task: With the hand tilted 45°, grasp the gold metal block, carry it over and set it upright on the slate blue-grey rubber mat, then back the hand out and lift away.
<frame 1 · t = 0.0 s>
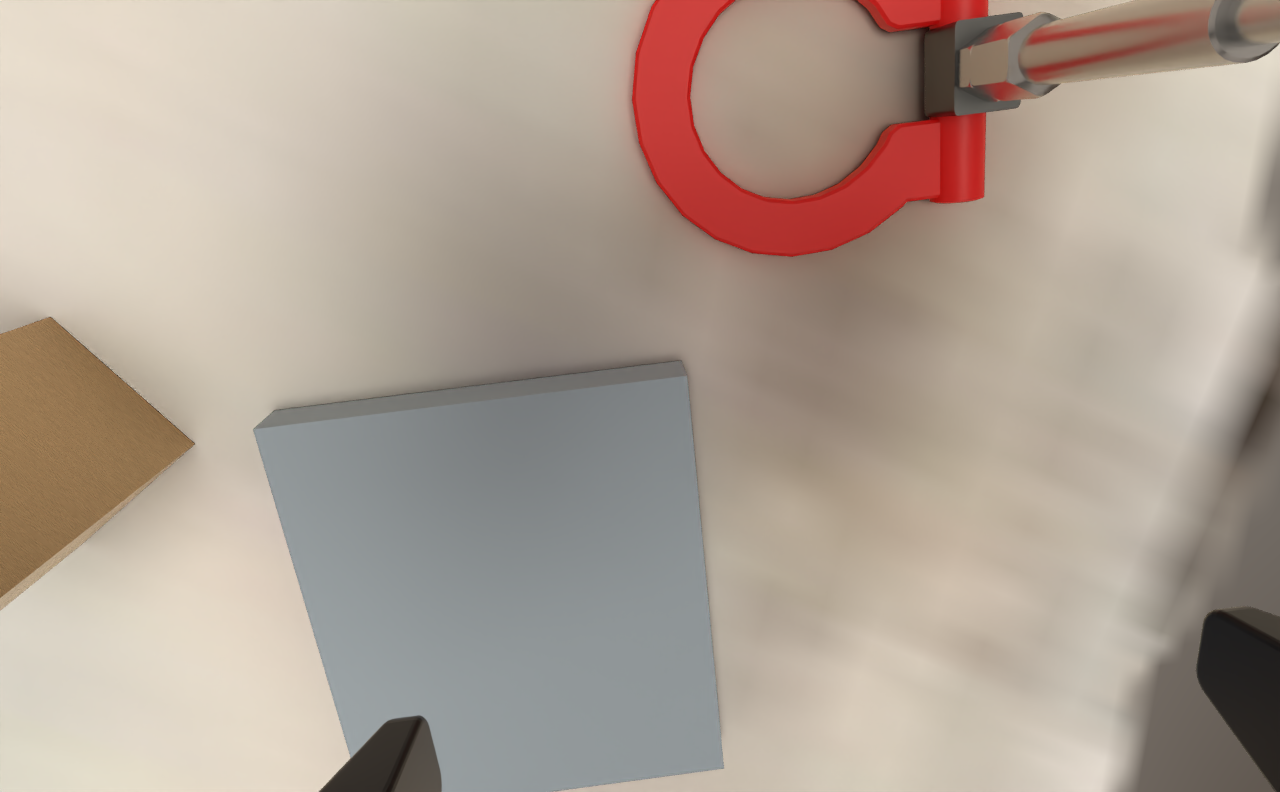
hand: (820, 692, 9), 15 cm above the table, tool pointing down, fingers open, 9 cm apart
gold metal block: (67, 435, 22), on the table
mat: (517, 588, 25), on the table
tow hook: (802, 92, 21), on the table
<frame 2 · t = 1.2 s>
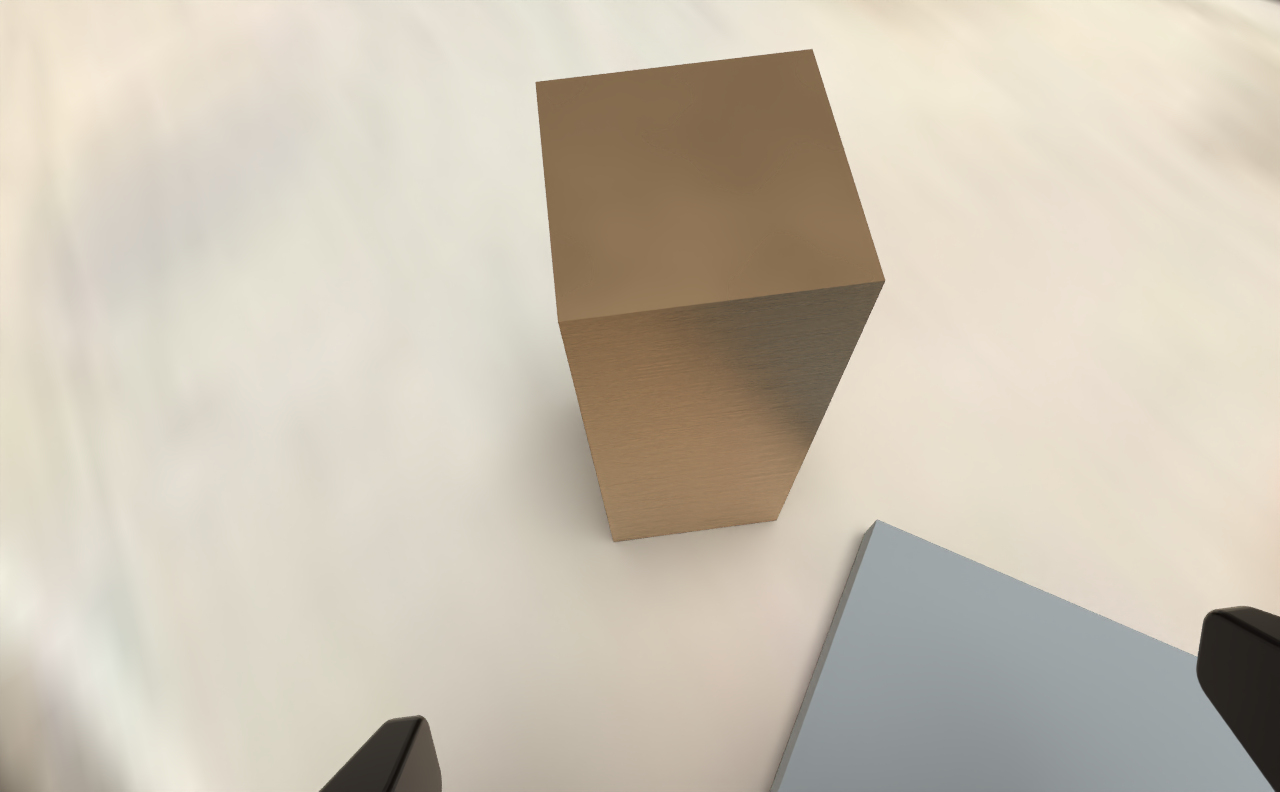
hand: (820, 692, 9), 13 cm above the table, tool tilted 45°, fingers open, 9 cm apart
gold metal block: (682, 454, 24), on the table
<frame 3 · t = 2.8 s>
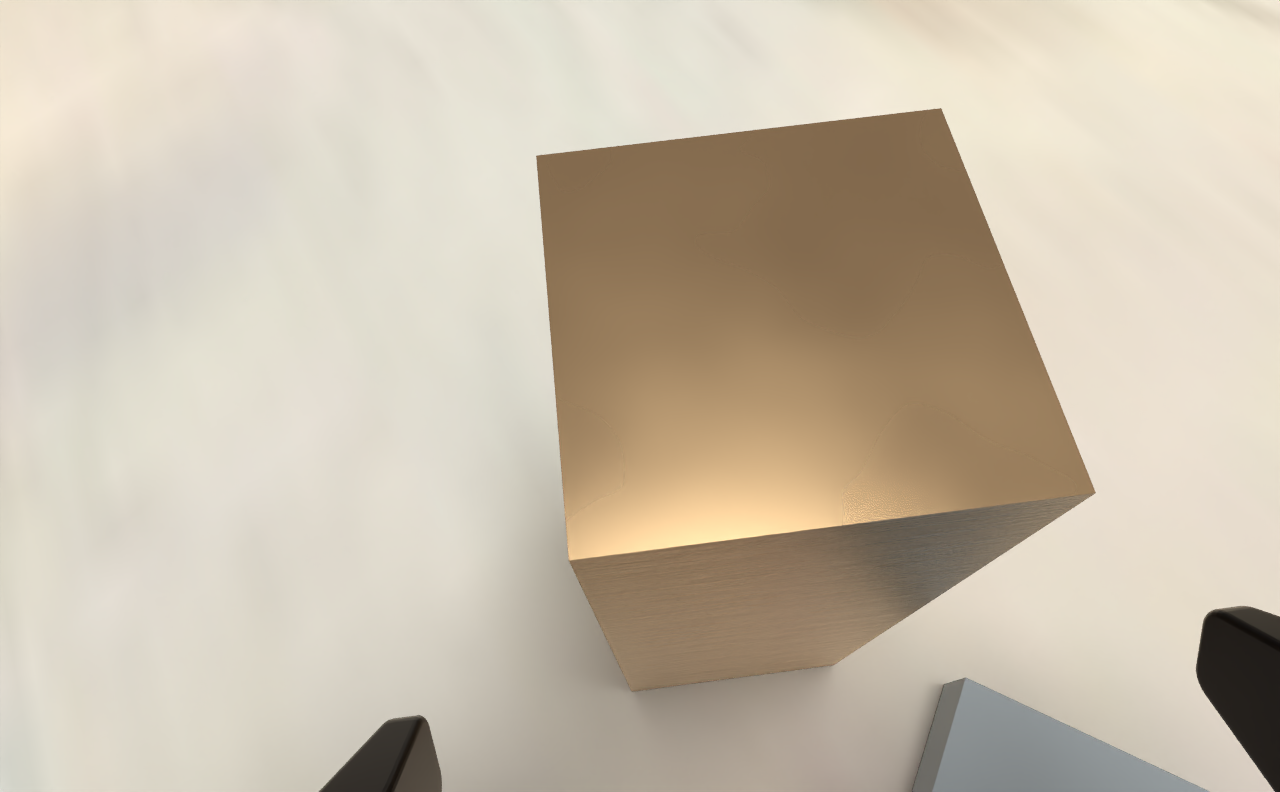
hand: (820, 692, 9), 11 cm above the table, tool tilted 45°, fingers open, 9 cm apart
gold metal block: (716, 577, 20), on the table
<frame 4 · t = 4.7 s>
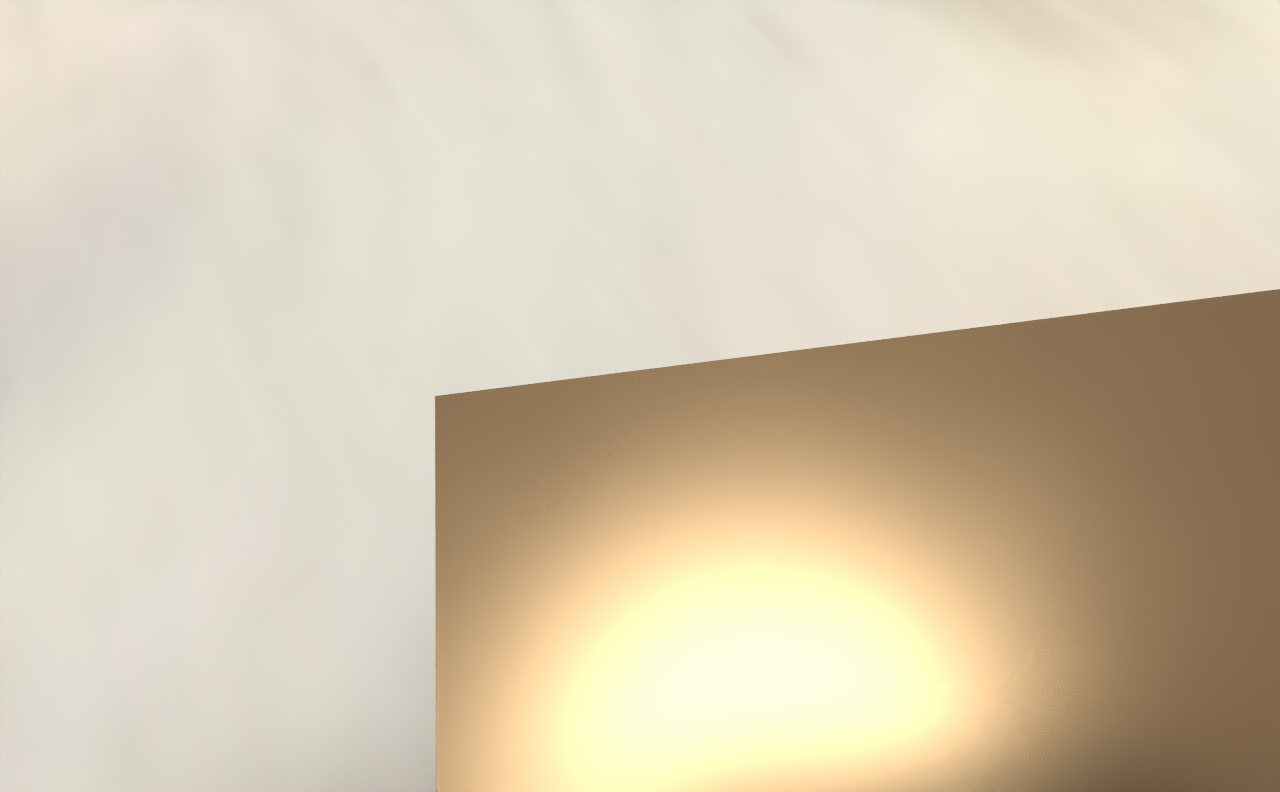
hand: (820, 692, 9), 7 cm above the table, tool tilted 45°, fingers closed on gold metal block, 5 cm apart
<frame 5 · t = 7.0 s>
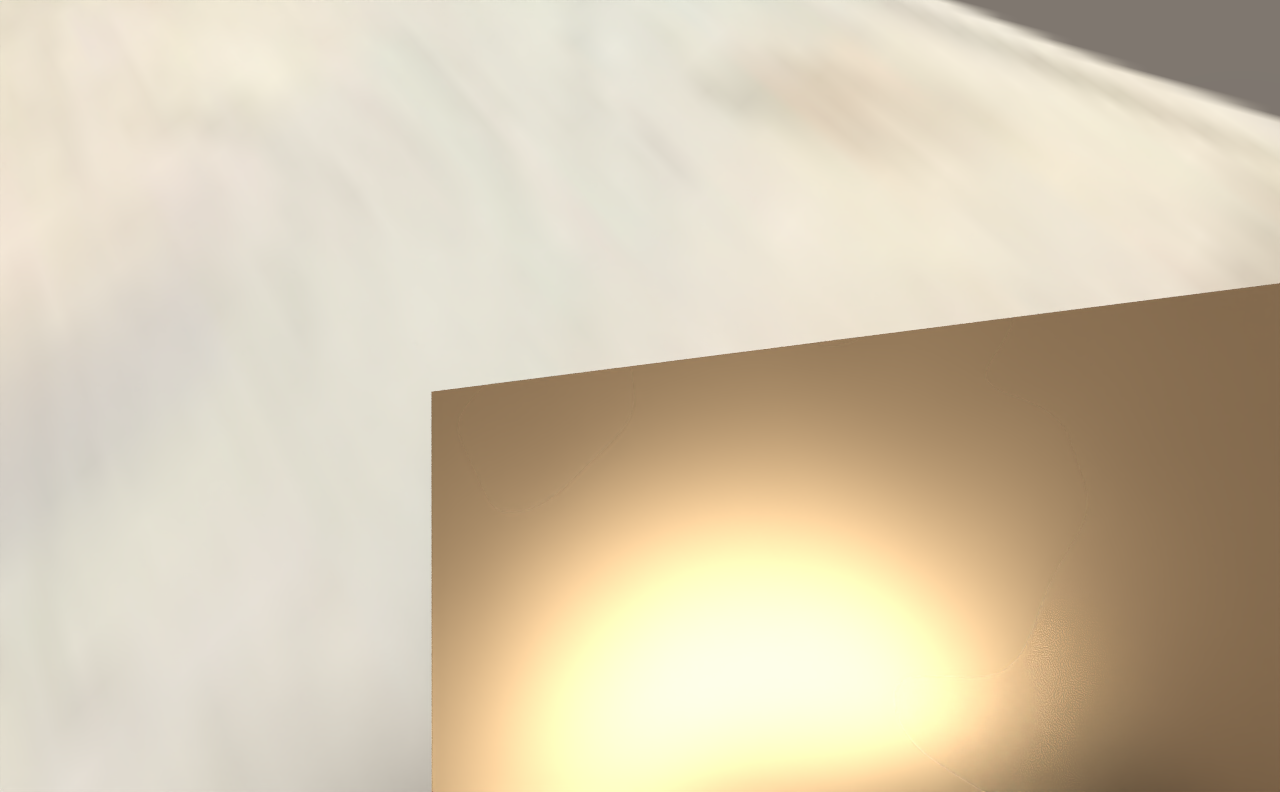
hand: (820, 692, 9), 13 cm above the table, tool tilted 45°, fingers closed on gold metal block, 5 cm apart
when the fingers open (10 cm above the table, at t = 9.6 s): gold metal block drops 1 cm, resting on mat.
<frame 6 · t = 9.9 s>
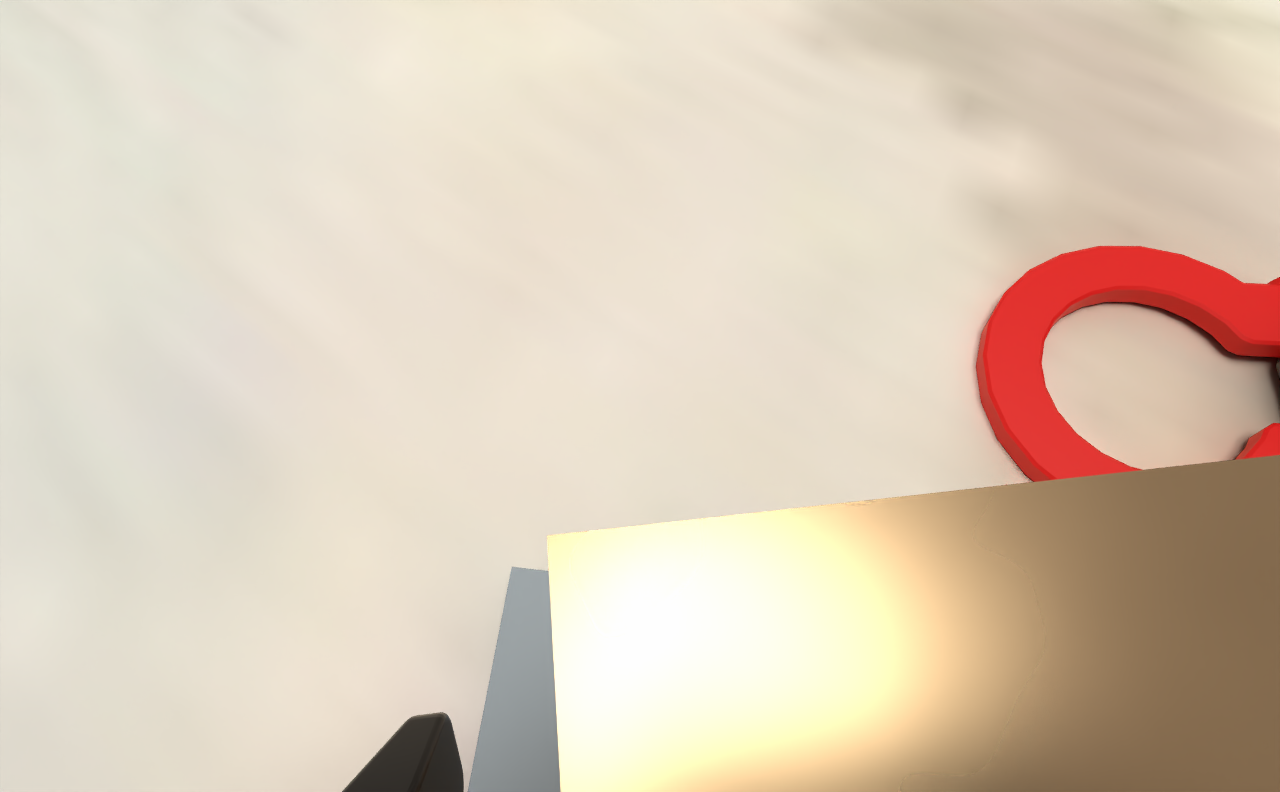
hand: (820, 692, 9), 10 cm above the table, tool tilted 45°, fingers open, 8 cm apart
tow hook: (1147, 397, 21), on the table
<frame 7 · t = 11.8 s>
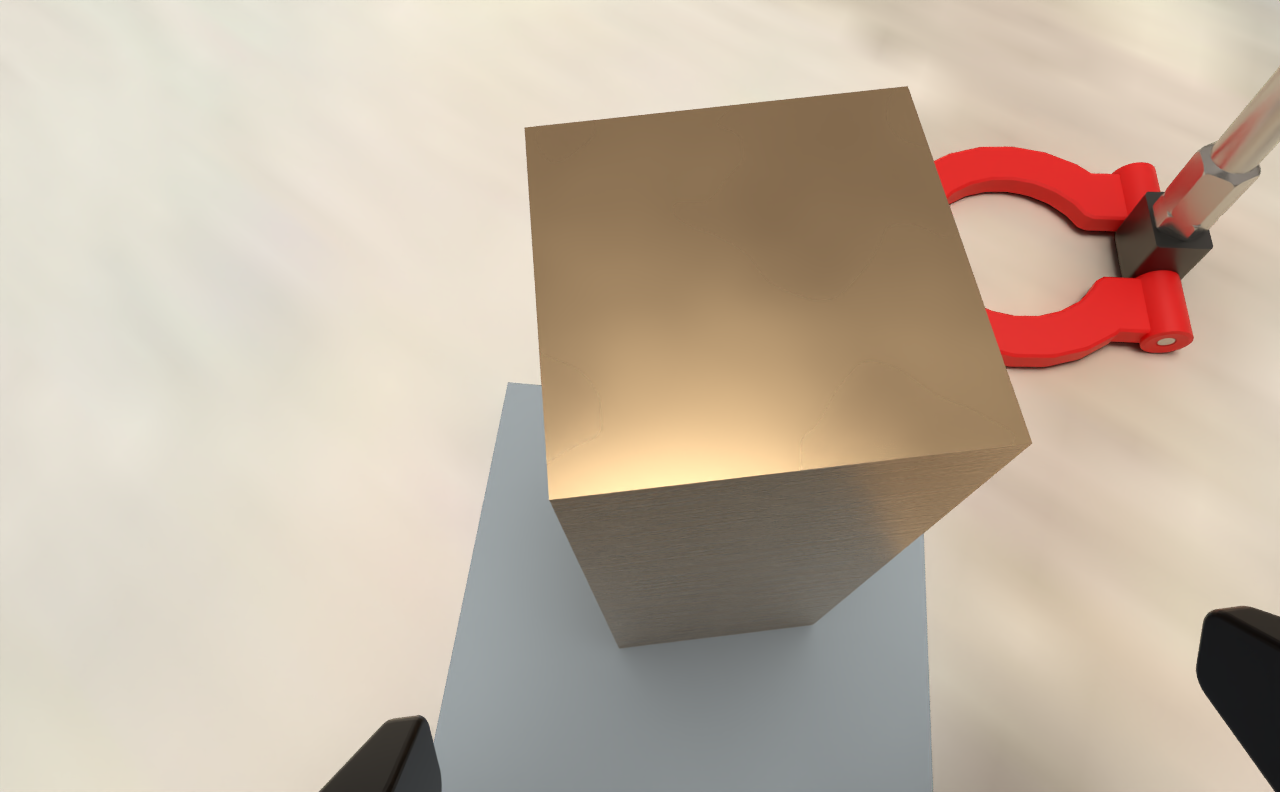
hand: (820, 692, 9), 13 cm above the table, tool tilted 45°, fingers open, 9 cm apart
gold metal block: (701, 541, 21), point 1 cm above the table, touching mat
mat: (686, 656, 21), on the table
tow hook: (1014, 265, 26), on the table
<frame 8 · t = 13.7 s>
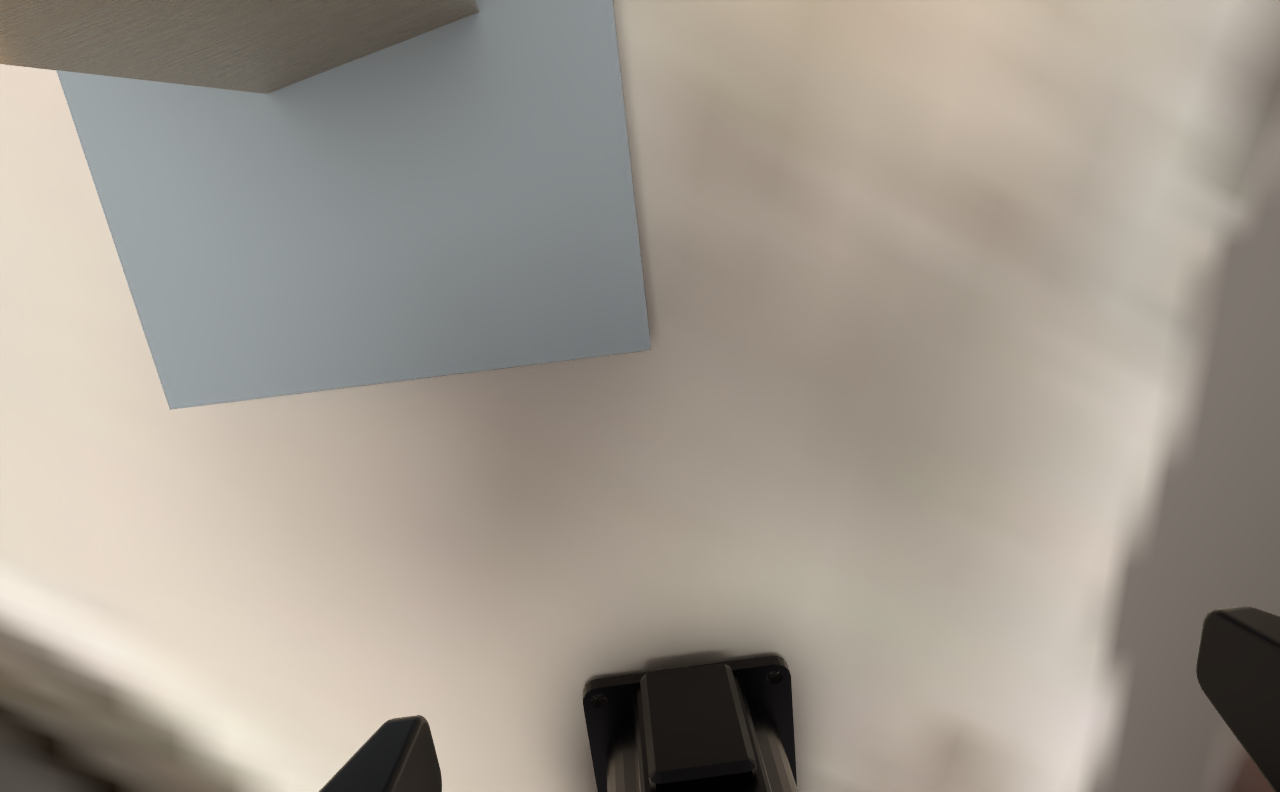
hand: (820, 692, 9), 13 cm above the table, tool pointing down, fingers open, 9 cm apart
mat: (364, 81, 18), on the table
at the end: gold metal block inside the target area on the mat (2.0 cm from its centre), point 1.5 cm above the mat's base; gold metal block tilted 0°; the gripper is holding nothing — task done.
